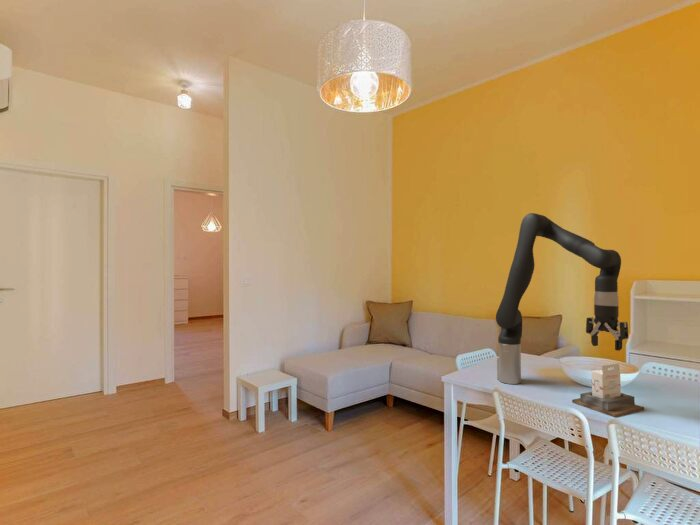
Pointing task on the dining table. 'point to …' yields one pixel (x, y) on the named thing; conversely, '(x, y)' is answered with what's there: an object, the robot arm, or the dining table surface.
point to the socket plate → (614, 412)
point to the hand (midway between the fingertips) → (606, 347)
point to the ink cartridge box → (606, 382)
